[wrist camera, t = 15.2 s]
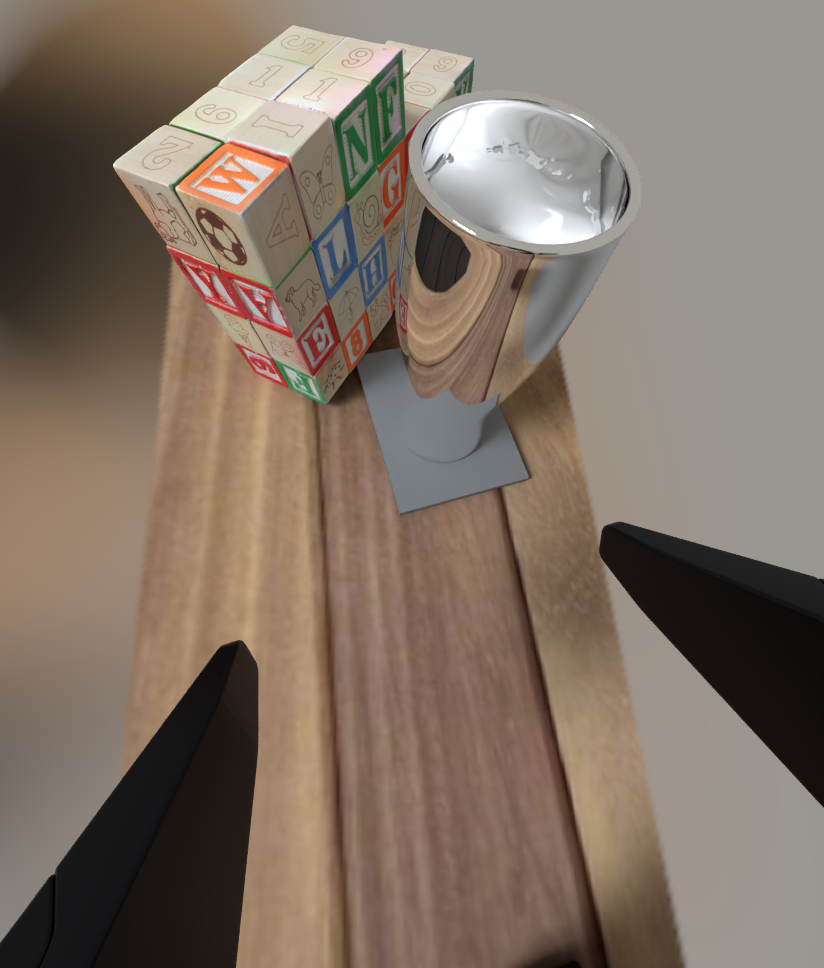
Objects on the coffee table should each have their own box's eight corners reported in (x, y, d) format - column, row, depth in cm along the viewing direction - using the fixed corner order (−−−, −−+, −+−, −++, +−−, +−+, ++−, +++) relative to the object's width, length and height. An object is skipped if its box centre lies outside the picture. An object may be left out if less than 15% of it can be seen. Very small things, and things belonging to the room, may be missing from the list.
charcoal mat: (525, 480, 23) (529, 477, 23) (399, 515, 22) (400, 513, 21) (467, 339, 27) (469, 333, 26) (354, 361, 25) (354, 356, 25)
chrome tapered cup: (510, 429, 24) (699, 187, 10) (437, 490, 22) (535, 304, 8) (443, 362, 25) (522, 59, 11) (369, 414, 23) (346, 135, 9)
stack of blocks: (398, 200, 31) (385, -48, 19) (461, 220, 30) (488, -30, 18) (252, 374, 24) (101, 158, 13) (326, 409, 23) (234, 206, 12)
